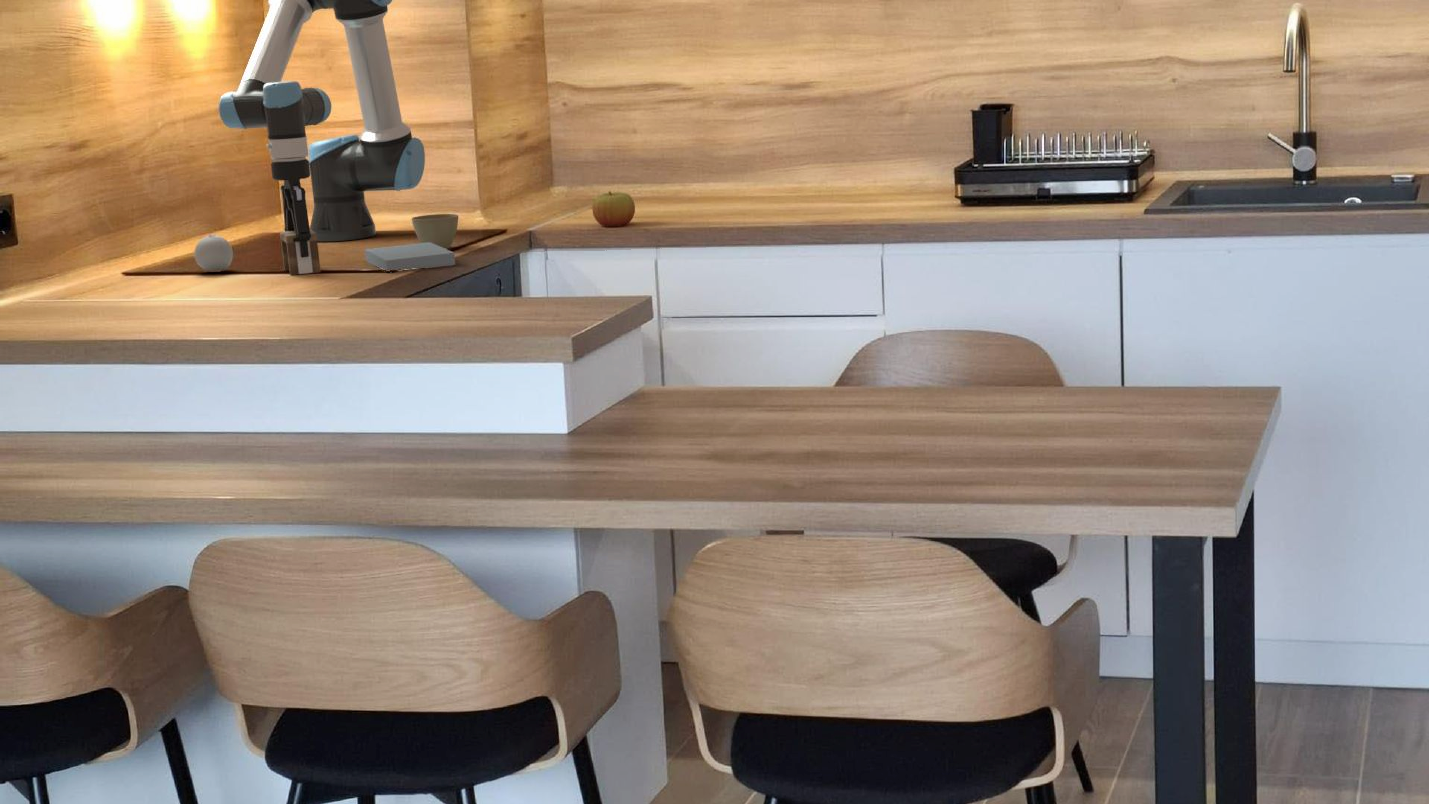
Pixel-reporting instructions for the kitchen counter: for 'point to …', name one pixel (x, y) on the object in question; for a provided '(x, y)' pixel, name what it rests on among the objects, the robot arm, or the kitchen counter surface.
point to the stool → (291, 255)
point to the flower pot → (436, 228)
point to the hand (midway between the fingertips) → (301, 270)
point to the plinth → (410, 256)
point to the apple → (613, 209)
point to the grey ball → (213, 253)
